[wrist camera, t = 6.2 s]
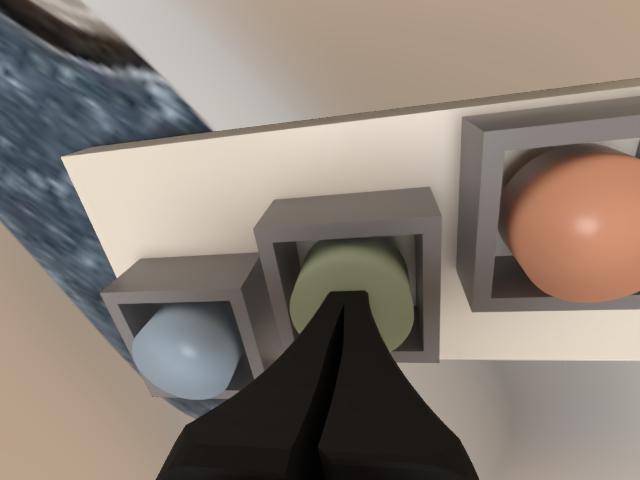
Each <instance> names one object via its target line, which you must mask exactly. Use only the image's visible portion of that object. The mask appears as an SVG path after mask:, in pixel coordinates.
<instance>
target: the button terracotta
mask: <svg viewBox="0 0 640 480" xmlns="http://www.w3.org/2000/svg"><path fill="white" fill-rule="evenodd" d="M498 231H499V234H500V236H501V238H502V240H503V241H504V243H505V244H506V246H507V247H508V249H509V250H510V251H511V253H512V254H513V256H514V257H515V259H516V260H517V261H518V263H519V264H520V266H521V267H522V269H523V270H524V272H525V273H526V274H527V276H528V277H529V279H530V280H531V281H532V282H533V283H534V284H535V285H536V286H537V287H538V288H539V289H541V290H542V291H543V292H545V293H547V294H549V295H551V296H553V297H556V298H559V299H562V300H566V301H571V302H578V303H596V302H605V301H611V300H615V299H619V298H623V297H626V296H629V295H632V294H634V293H637V292H639V291H640V159H639V158H636V157H634V156H631V155H629V154H626V153H623V152H621V151H618V150H615V149H613V148H610V147H608V146H604V145H599V144H591V143H579V144H571V145H566V146H562V147H558V148H555V149H553V150H550V151H547V152H545V153H543V154H541V155H539V156H538V157H536V158H534V159H533V160H531V161H530V162H528V163H527V164H526V165H525V166H523V167H522V168H521V169H520V170H519V171H518V172H517V173H516V174H515V175H514V176H513V177H512V179H511V180H510V181H509V182H508V184H507V185H506V187H505V189H504V190H503V192H502V195H501V198H500V209H499V219H498Z"/></svg>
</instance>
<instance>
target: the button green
mask: <svg viewBox="0 0 640 480" xmlns="http://www.w3.org/2000/svg"><path fill="white" fill-rule="evenodd" d="M358 290H365V291H366V292H368V295H369V305H370V308H371V312H372V315H373V318H374V320H375V323H376V325H377V328H378V330H379V332H380V334H381V336H382V339H383V341H384V342H385V344H386V346H387V348H388V350H389V352H391V351H393V350H394V349H396V348H397V347H398V346H399V345H401V344H402V343H403V341H404V340H405V339H406V338H407V336H408V335H409V333H410V331H411V328H412V326H413V321H414V308H413V301H412V294H411V287H410V281H409V274H408V268H407V265H406V262H405V260H404V258H403V256H402V254H401V253H400V251H399V250H398V249H397V248H396V247H395V246H394V245H393V244H392V243H391V242H389V241H388V240H386V239H385V238H383V237H381V236H378V237H361V238H344V239H327V240H319V241H318V242H316V243H315V244H314V245H313V246H312V247H311V249H310V250H309V251H308V253H307V255H306V257H305V259H304V262H303V265H302V268H301V270H300V273H299V276H298V279H297V282H296V284H295V287H294V290H293V293H292V295H291V299H290V316H291V319H292V322H293V324H294V327H295V329H296V330H297V332H298V333H299V334H300V333H301V332H302V330H303V329H304V328H305V327H306V325H307V324H308V323H309V321H310V320H311V318H312V317H313V316H314V314H315V313H316V311H317V310H318V309H319V307H320V306H321V304H322V302H323V301H324V299H325V298H326V296H327V294H328V293H329V292H330V291H358Z"/></svg>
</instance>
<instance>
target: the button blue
mask: <svg viewBox="0 0 640 480" xmlns="http://www.w3.org/2000/svg"><path fill="white" fill-rule="evenodd" d="M244 349H245V348H244V344H243V341H242V338H241V335H240V331H239V328H238V325H237V322H236V318H235V315H234V312H233V309H232V305H231V303H230V302H229V301H209V302H172V303H164V304H163V305H162V306H161V308H160V309H159V310H158V311H157V312H156V313H155V315H154V316H153V317H152V318H151V319H150V320H149V321H148V323H147V324H146V325H145V326H144V327H143V328H142V330H141V331H140V332H139V333H138V334H137V335H136V337H135V339H134V340H133V344H132V355H133V359H134V361H135V364H136V365H137V367H138V369H139V370H140V372H141V373H142V374H143V375H144V376H145V377H146V378H147V379H148V380H149V381H150V382H151V383H152V384H154V385H155V386H157V387H158V388H160V389H161V390H163V391H165V392H167V393H169V394H172V395H174V396H177V397H181V398H185V399H192V400H203V399H209V398H213V397H215V396H218V395H219V394H221V393H222V392H223V391H224V390H225V389H226V388H227V386H228V385H229V382H230V380H231V378H232V376H233V374H234V371H235V369H236V367H237V365H238V363H239V360H240V358H241V356H242V354H243V352H244Z"/></svg>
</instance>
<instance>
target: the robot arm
mask: <svg viewBox="0 0 640 480" xmlns="http://www.w3.org/2000/svg"><path fill="white" fill-rule="evenodd" d="M156 480H479V478H478V476H477V473H476V471H475V469H474V466H473V464H472V462H471V460H470V458H469V456H468V454H467V452H466V450H465V448H464V446H463V445H462V443H461V441H460V439H459V438H458V437H457V436H456V435H455V434H454V433H453V432H452V431H451V430H450V429H449V428H448V427H447V426H446V425H445V424H444V423H443V422H442V421H441V420H440V418H439V417H438V416H437V415H436V414H435V413H434V412H433V411H432V410H431V409H430V407H429V406H428V405H427V404H426V403H425V402H424V400H423V399H422V398H421V397H420V395H419V394H418V393H417V392H416V390H415V389H414V388H413V386H412V385H411V384H410V383H409V381H408V380H407V378H406V377H405V376H404V374H403V373H402V371H401V370H400V368H399V367H398V365H397V363H396V362H395V360H394V359H393V357H392V355H391V354H390V352H389V350H388V348H387V346H386V344H385V342H384V341H383V339H382V336H381V334H380V332H379V330H378V328H377V325H376V323H375V320H374V318H373V315H372V312H371V308H370V305H369V295H368V292H366V291H365V290H358V291H330V292H329V293H328V294H327V296H326V298H325V299H324V301H323V302H322V304H321V306H320V307H319V309H318V310H317V311H316V313H315V314H314V316H313V317H312V318H311V320H310V321H309V323H308V324H307V325H306V327H305V328H304V329H303V330H302V332H301V333H300V334H299V335H298V337H297V338H296V339H295V340H294V341H293V342H292V344H291V345H290V346H289V347H288V348H287V349H286V350H285V351H284V353H283V354H282V355H281V356H280V357H279V358H278V359H277V360H276V361H275V362H274V363H273V364H272V365H271V366H269V367H268V368H267V369H266V370H265V371H264V372H263V373H262V374H260V375H259V376H258V377H257V378H256V379H254V380H253V381H252V382H251V383H250V384H248V385H247V386H246V387H244V388H243V389H242V390H240V391H239V392H238V393H236V394H235V395H234V396H232V397H231V398H229V399H228V400H226V401H225V402H223V403H222V404H220V405H219V406H217V407H216V408H214V409H212V410H211V411H209V412H208V413H206V414H204V415H203V416H201V417H199V418H198V419H196V420H194V421H193V422H191V423H189V424H187V425H186V426H185V427H184V429H183V431H182V432H181V434H180V435H179V437H178V439H177V440H176V442H175V444H174V446H173V447H172V449H171V451H170V453H169V455H168V457H167V459H166V461H165V463H164V465H163V467H162V469H161V471H160V473H159V474H158V477H157V478H156Z"/></svg>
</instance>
